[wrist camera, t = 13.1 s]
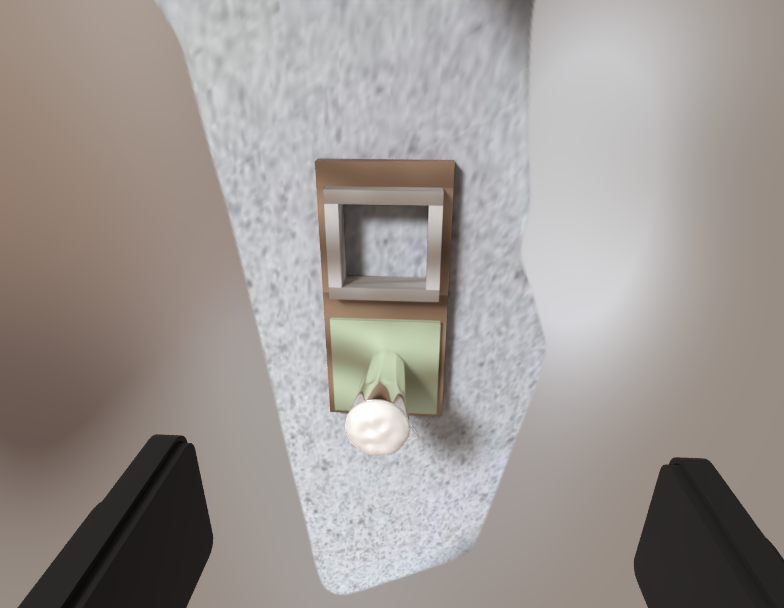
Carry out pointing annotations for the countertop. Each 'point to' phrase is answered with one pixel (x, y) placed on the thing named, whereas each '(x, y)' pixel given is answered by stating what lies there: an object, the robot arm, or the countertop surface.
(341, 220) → the board
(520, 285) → the countertop surface
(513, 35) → the countertop surface
